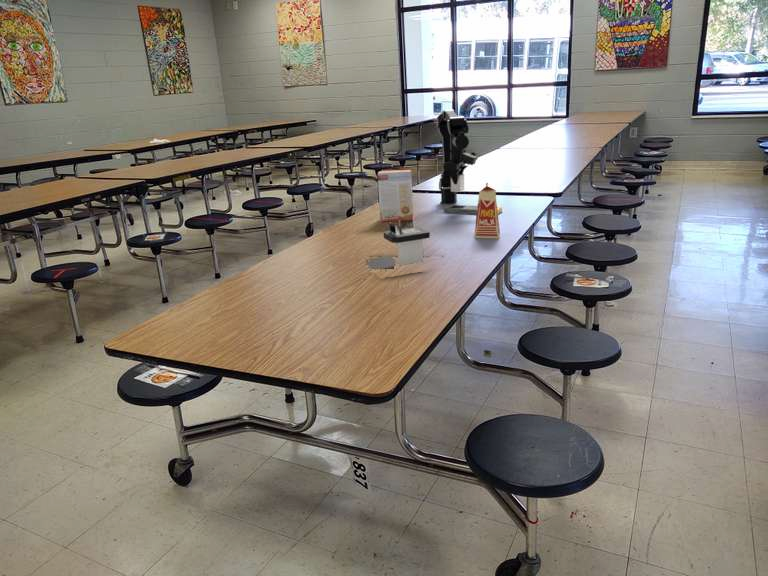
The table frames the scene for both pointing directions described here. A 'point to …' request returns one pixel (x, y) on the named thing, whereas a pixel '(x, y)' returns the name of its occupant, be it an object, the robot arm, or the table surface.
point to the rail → (464, 209)
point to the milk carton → (487, 215)
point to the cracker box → (395, 195)
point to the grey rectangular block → (458, 184)
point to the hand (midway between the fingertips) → (457, 183)
